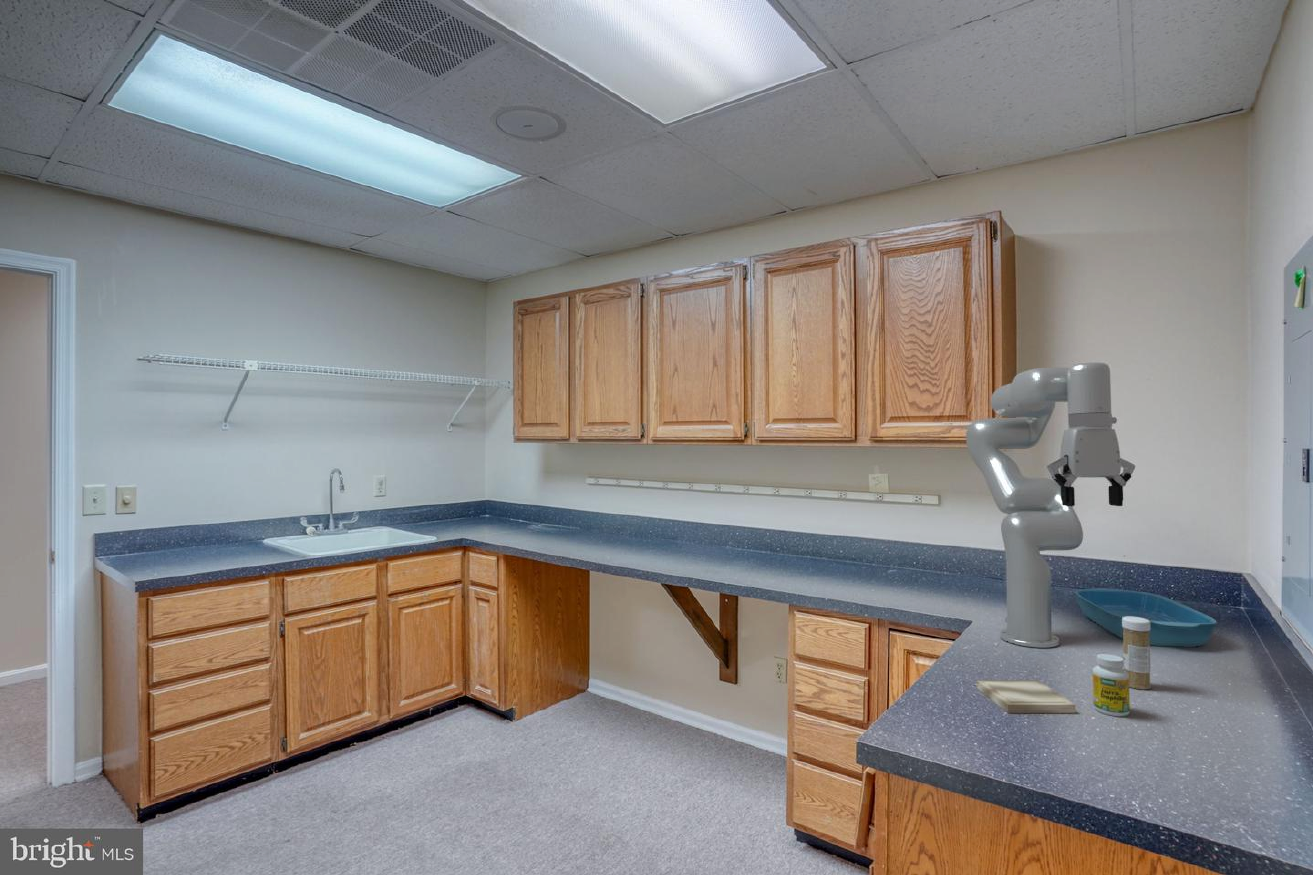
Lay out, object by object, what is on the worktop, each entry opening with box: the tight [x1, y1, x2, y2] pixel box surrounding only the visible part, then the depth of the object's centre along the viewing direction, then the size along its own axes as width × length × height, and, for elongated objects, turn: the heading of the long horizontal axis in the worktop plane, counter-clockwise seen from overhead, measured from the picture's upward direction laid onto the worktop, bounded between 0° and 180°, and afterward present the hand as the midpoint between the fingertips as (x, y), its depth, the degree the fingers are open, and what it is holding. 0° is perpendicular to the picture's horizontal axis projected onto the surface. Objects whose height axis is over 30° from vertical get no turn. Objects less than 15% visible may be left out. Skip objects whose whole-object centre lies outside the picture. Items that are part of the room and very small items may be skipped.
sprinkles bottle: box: [1122, 616, 1152, 690], centre depth 130 cm, size 5×5×14 cm
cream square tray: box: [976, 679, 1076, 714], centre depth 123 cm, size 12×12×2 cm
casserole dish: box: [1074, 587, 1217, 648], centre depth 168 cm, size 37×22×7 cm, turn 168°
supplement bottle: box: [1092, 653, 1131, 717], centre depth 118 cm, size 6×5×10 cm
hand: (1092, 505), depth 134 cm, fingers open, 9 cm apart
